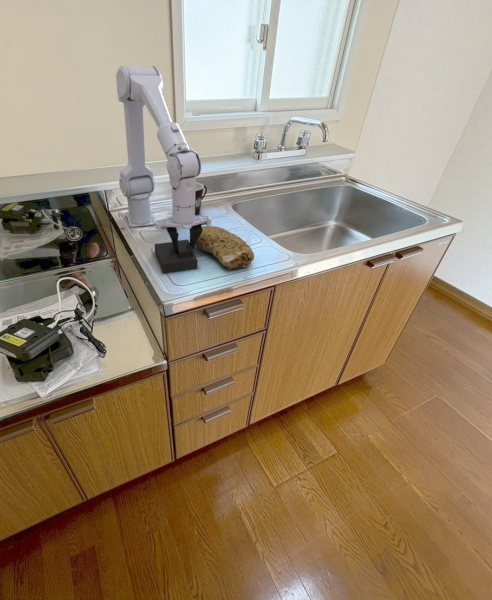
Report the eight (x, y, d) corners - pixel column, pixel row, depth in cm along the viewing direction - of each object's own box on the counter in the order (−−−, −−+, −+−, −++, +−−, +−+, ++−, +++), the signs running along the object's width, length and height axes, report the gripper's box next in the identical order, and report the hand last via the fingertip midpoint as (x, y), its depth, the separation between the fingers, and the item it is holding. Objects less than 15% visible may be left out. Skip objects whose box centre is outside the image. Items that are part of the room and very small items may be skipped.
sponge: (256, 269, 90) (226, 226, 101) (259, 250, 84) (226, 206, 95) (214, 285, 88) (188, 239, 98) (213, 266, 81) (185, 219, 92)
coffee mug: (182, 220, 110) (182, 191, 104) (175, 210, 116) (175, 182, 110) (213, 216, 114) (215, 188, 107) (205, 207, 120) (206, 180, 113)
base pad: (155, 252, 92) (154, 243, 90) (186, 249, 95) (186, 240, 93) (163, 273, 84) (162, 264, 82) (197, 268, 87) (197, 259, 85)
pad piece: (174, 250, 91) (174, 240, 89) (187, 248, 92) (187, 239, 90) (179, 261, 86) (179, 252, 85) (193, 259, 88) (194, 250, 86)
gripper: (158, 212, 75) (161, 261, 84) (216, 207, 79) (212, 254, 88) (152, 201, 80) (155, 248, 89) (207, 196, 84) (205, 242, 93)
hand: (183, 250), depth 88 cm, fingers closed on pad piece, 4 cm apart
